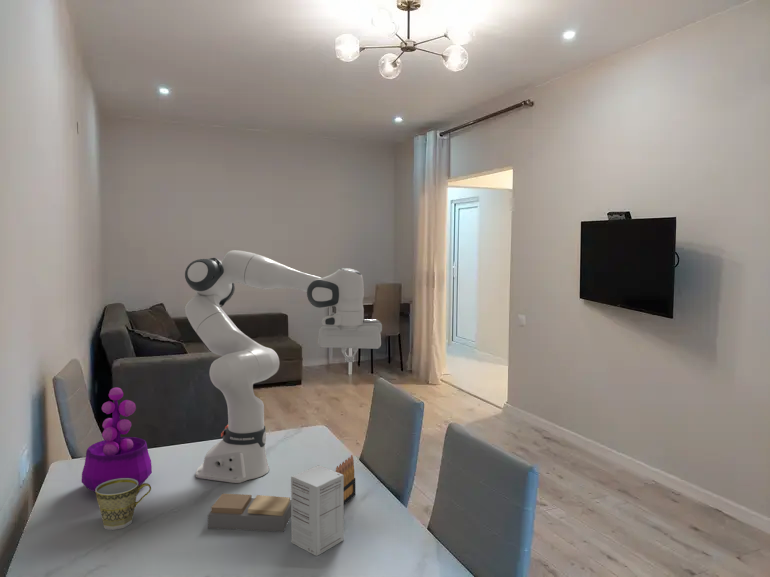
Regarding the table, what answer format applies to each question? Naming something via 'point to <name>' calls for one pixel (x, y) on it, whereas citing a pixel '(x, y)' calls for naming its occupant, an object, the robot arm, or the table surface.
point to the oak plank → (269, 505)
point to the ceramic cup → (118, 501)
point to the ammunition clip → (348, 478)
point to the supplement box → (317, 509)
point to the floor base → (244, 515)
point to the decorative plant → (116, 448)
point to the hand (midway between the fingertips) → (349, 361)
